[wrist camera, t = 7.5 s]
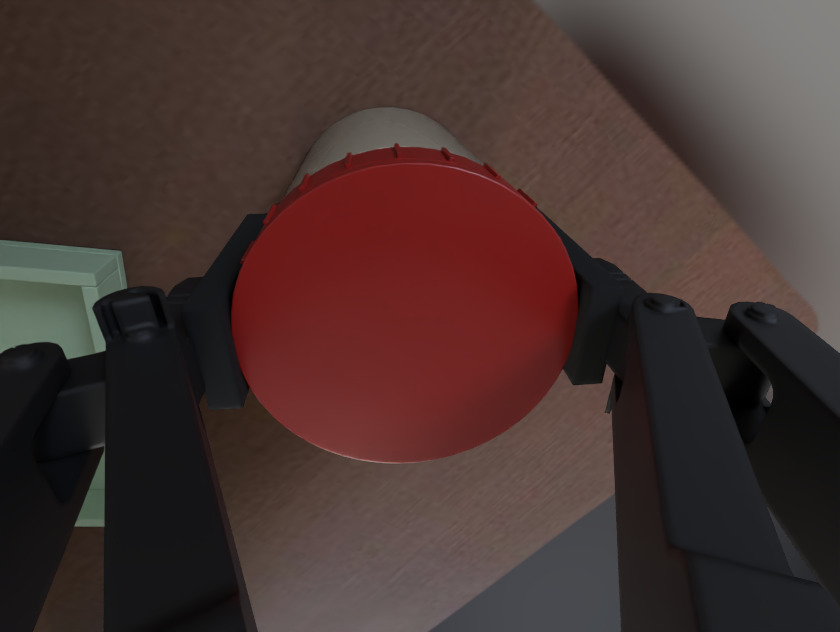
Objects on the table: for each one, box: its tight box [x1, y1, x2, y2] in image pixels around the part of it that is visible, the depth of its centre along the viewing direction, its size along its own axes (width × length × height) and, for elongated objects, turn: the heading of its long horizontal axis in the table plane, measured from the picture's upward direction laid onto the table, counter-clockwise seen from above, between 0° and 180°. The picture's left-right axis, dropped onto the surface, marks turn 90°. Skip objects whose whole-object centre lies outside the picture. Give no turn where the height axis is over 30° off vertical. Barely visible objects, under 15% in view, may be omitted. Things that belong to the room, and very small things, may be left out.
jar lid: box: [231, 143, 579, 463], centre depth 12 cm, size 8×8×2 cm
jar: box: [283, 107, 483, 199], centre depth 16 cm, size 8×8×10 cm
